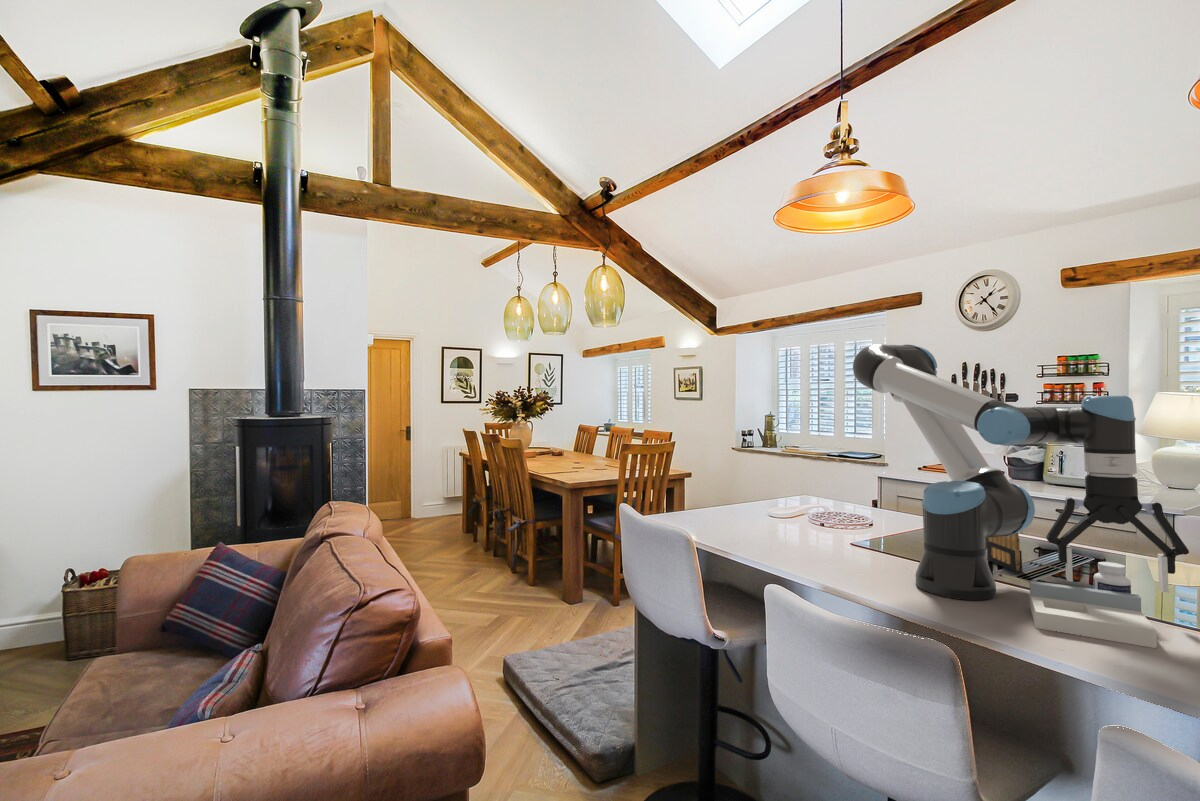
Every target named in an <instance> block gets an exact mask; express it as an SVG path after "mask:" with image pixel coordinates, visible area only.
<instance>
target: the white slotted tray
mask: <svg viewBox="0 0 1200 801" xmlns="http://www.w3.org/2000/svg"><path fill="white" fill-rule="evenodd" d="M1029 605H1030V606H1029V608H1030V611H1031V615H1032V619H1033V622H1034V626H1035V628H1036V629H1039V630H1046V631H1052V632H1056V631H1057V632H1058V633H1062V632H1063V633H1064V634H1068V633H1069V634H1071V635H1074V634H1075V635H1076V636H1080V635H1081V637H1087V638H1094V639H1099V640H1105V641H1110V642H1111V641H1112V642H1115V643H1116V642H1118V643H1122V644H1123V643H1124V644H1128V645H1135V646H1140V647H1147V648H1152V649H1157V630H1156V628H1155V627H1154V625H1153V624H1152V623H1151V622H1150V620H1149V619H1148V618H1147V617H1146V616H1145V614H1144V613H1143V612H1142V598H1141V597H1140V595H1139V594H1134V593H1131V594H1128V593H1120V592H1113V591H1105V590H1098V589H1094V588H1090V587H1089V588H1088V587H1081V586H1073V585H1066V584H1059V583H1052V582H1051V583H1050V582H1044V581H1036V580H1029ZM1063 633H1062V634H1063Z"/></svg>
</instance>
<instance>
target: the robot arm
mask: <svg viewBox="0 0 1200 801" xmlns="http://www.w3.org/2000/svg"><path fill="white" fill-rule="evenodd" d="M937 363H938V362H937V360H936V358H935V356H934V355H933V354H932V353H931V352H930V351H929V350H927V349H926V348H924V347H921V346H917V345H915V344H914V345H913V344H900V345H899V344H897V345H896V344H887V343H886V344H883V343H874V344H870V345H868V346H866V347H864V348H862V349H860V351H859V352H858V353H857V354H856V356H855V357H854V359H853V363H852V371H853V372H852V373H853V375H854V377H855V379H856V380H857V382H859V383H860V384H861V385H863V386H864V387H867V388H869V389H871V390H874V391H875V392H877V393H880V394H887V393H889V394H890V395H891V396H892V398H893V400H894V401H895V402H898V403H903V404H904V406H905V407H906V410H907V411H908V413H909V414H910V416H911V417H912V419H913V421H914V422H915V424H916V425H917V427H918V429H919V430H920V432H921V433H922V435H923V436H924V438H925V440H926V442H927V443H928V444H929V446H930V448H931V449H932V451H933V452H934V454H935V456H936V458H937V459H938V461H939V462H940V464H941V465H942V467H943V469H944V470H945V472H946V474H947V475H948V477H949V478H950V480H951V481H937V482H933V483H931V484H928V485H927V486H926V487H925V488H924V490H923V494H922V496H923V499H922V513H923V514H922V515H923V516H922V518H923V520H922V522H923V553H922V555H921V558H920V561H919V564H918V566H917V570H916V572H915V586H916V587H917V588H919V589H921V590H923V591H925V592H927V593H931V594H933V595H937V596H941V597H946V598H951V599H956V600H957V599H958V600H967V601H985V600H991V599H993V598H995V597H996V596H997V585H996V582H995V580H994V579H995V578H994V576H993V574H992V570H991V568H990V565H989V563H988V560H987V555H986V554H987V551H986V539H989V538H991V537H998V536H1010V535H1013V534H1015V533H1018V534H1019V533H1021V532H1023V531H1025V530H1026V529H1027V528H1029V527H1030V525H1031V524H1032V523H1033V520H1034V516H1035V515H1036V514H1035V513H1036V508H1035V507H1036V506H1035V502H1034V499H1033V498H1032V496H1031V495H1030V493H1029V492H1028V491H1027V490H1026V489H1025V488H1024V487H1022V486H1020V485H1018V484H1016V483H1012V482H1009V480H1008V479H1007V477H1006V475H1005V474H1004V472H1003V471H1002V469H1000V468H996V467H992V466H990V465H989V463H988V462H987V460H986V459H985V457H984V456H983V454H982V453H981V451H980V450H979V449H978V447H977V445H976V444H975V442H974V441H973V439H972V438H971V437H970V435H969V434H968V432H967V431H966V430H965V428H964V427H967V428H970V429H971V430H974V431H975V432H978V433H979V435H980V436H981V437H982V438H983V440H984V441H985V442H987V443H988V444H992V445H999V446H1002V447H1003V446H1005V447H1007V446H1011V447H1012V446H1016V445H1027V444H1030V445H1031V444H1048V443H1051V444H1053V443H1055V444H1056V443H1057V444H1059V443H1060V444H1061V443H1062V444H1083V456H1084V457H1083V458H1084V460H1083V461H1084V472H1086V473H1087V475H1086V476H1084V479H1085V480H1084V482H1085V483H1084V484H1085V488H1084V489H1085V497H1084V499H1081V498H1080V499H1078V498H1073V497H1071V496H1066V497H1065V499H1064V500H1065V501H1064V507H1063V509H1062V510H1061V512H1060V514H1059V516H1058V517H1057V518H1056V520H1055V522H1054V523H1053V525H1052V526H1051V529H1050V530H1049V532H1048V533H1047V535H1046V536H1045V537H1046V541H1047V542H1048V543H1051V544H1054V545H1056V546H1057V550H1058V551H1057V552H1058V554H1057V555H1058V557H1057V558H1058V561H1059V562H1060V564H1061V563H1063V564H1065V578H1066V580H1067V582H1074V579H1073V554H1072V553H1073V552H1072V551H1073V550H1072V547H1071V546H1070V544H1071V542H1073V541H1074V540H1075V539H1077V538H1078V537H1079V536H1080V535H1081V534H1082V533H1084V532H1085V531H1086V530H1087V529H1088V528H1089V527H1090V526H1092V525H1094V524H1095V523H1096V522H1097V521H1098V522H1101V523H1102V524H1111V523H1113V524H1118V525H1125V524H1128V523H1130V524H1131V525H1133V526H1134V527H1135V528H1136V529H1137V530H1138V531H1140V533H1142V534H1143V535H1144V536H1145V537H1146V538H1147V539H1148V540H1149V541H1150V542H1151V543H1152V544H1154V545H1155V547H1157V548H1158V549H1160V551H1161V552H1163V553H1157V571H1158V572H1157V573H1158V574H1157V575H1158V589H1159V590H1161V591H1162V592H1163V593H1169V592H1170V591H1169V590H1170V588H1169V574H1170V575H1174V574H1175V573H1176V557H1178V556H1181V555H1188V554H1190V550H1189V548H1188V547H1187V546H1186V544H1185V543H1184V541H1183V540H1182V539H1181V537H1180V536H1179V534H1178V533H1177V532H1176V530H1175V529H1174V527H1173V526H1172V525H1171V523H1170V521H1169V520H1168V519H1167V517H1166V515H1164V509H1163V506H1162V504H1161V503H1159V501H1158V502H1157V501H1155V500H1152V501H1150V502H1140V500H1139V490H1138V478H1136V477H1135V476H1133V475H1136V474H1137V473H1138V468H1137V455H1136V454H1137V453H1136V419H1137V418H1136V416H1135V410H1134V403H1133V399H1132V398H1131V397H1130V396H1128V395H1100V396H1099V395H1098V396H1097V395H1096V396H1084V397H1083V398H1082V399H1081V404H1080V405H1079V406H1078V405H1077V406H1030V407H1027V406H1026V407H1021V406H1020V407H1017V406H1013V405H1012V404H1009V403H1007V402H1004V401H1000V400H999V399H995V398H993V397H990V396H988V395H985V394H983V393H980V392H977V391H975V390H973V389H970V388H967V387H964V386H961V385H959V384H957V383H954V382H951V381H948V380H946V379H943V378H941V377H938V375H937V373H938V371H937V368H938V364H937ZM1081 506H1084V508H1085V510H1087V511H1088V512H1087V513H1086V514H1085V515H1084V516H1083V518H1081V519H1080V520H1079V521H1078V522H1077V523H1076V524H1074V525H1073V526H1072V527H1071V528H1070V529H1069V530H1068V531H1066V532H1065V533H1064V534H1063V535H1062V536H1061V537H1059V536H1060V534H1061V532H1062V531H1063V529H1064V528H1065V526H1066V524H1068V521H1069V520H1070V519H1071V517H1072V515H1073V514H1074V511H1075V510H1078V509H1079V508H1080V507H1081ZM1142 509H1143V510H1145V511H1146V513H1148V514H1150V515H1152V517H1153V518H1154V519H1155V521H1156V523H1157V524H1158V526H1159V527H1160V529H1161V530H1162V531H1163V532H1164V534H1165V536H1166V537H1167V538H1168V540H1169V541H1170V543H1171V544H1172V546H1171V547H1170V546H1168V545H1167V544H1166V543H1165V542H1164V541H1163V540H1162V539H1161V538H1160V537H1158V535H1156V534H1155V532H1153V531H1152V530H1151V529H1150V528H1149V527H1147V525H1145V524H1144V523H1143V522H1142V521H1141V520H1140V519H1139V518H1137V517H1136V516H1137V515H1138V514H1139V513H1140V512H1141V511H1142Z"/></svg>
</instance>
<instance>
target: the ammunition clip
mask: <svg viewBox="0 0 1200 801" xmlns="http://www.w3.org/2000/svg"><path fill="white" fill-rule="evenodd" d="M986 542H987V543H986V545H987V546H986V549H987V550H986V554H987V555H986V560H987V561H988V562H992V563H994V564H996V565H998V566H1001V567H1003V568H1005V569H1008V570H1009V571H1012V572H1016V573H1017V572H1019V573H1020V572H1021V573H1022V572H1023V558H1022V555H1023V554H1022V550H1020V549H1021V548H1020V544H1021V542H1020V537H1019V533H1015V534H1013V535H1010V536H998V537H991V538H988V540H987V541H986Z"/></svg>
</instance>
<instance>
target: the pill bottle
mask: <svg viewBox="0 0 1200 801" xmlns="http://www.w3.org/2000/svg"><path fill="white" fill-rule="evenodd" d="M1097 569H1098V571H1099V572H1097V573H1094V575H1093V589H1098V590H1105V591H1113V592H1120V593H1128V594H1132V582H1131V580H1130V578H1129V577H1127V576H1125V575H1126V573H1127V570H1126V569H1127V567H1126V565H1124V564H1121V563H1116V562H1110V561H1098V563H1097Z"/></svg>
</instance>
